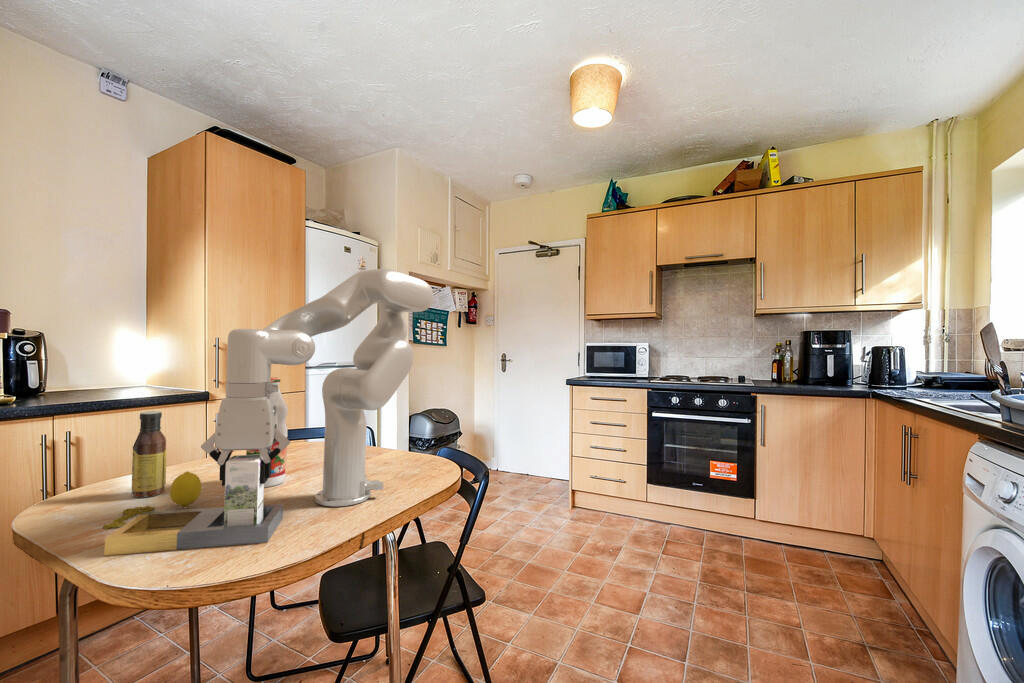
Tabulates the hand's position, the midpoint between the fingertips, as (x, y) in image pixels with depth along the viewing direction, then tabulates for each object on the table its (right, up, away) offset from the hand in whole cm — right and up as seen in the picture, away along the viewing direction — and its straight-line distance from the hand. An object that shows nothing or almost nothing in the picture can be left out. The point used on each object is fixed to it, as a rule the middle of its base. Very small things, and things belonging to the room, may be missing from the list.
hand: (245, 481), depth 85 cm
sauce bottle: (-35, -9, +18) cm, 40 cm away
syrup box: (0, -10, 0) cm, 10 cm away
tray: (-7, -9, -2) cm, 12 cm away
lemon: (-20, -10, +11) cm, 25 cm away
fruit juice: (-13, -10, +30) cm, 34 cm away
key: (-28, -10, +5) cm, 30 cm away
